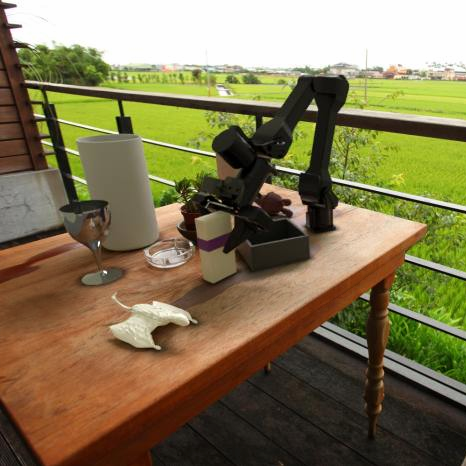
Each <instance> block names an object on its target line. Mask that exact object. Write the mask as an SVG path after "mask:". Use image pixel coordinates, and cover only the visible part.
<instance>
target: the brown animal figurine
mask: <svg viewBox="0 0 466 466" xmlns="http://www.w3.org/2000/svg"><path fill="white" fill-rule="evenodd" d="M292 202H293V201H292V200H291V199H290V198H283V197H282V196H281V195H280V194H278V193H276V192H275V191H269V192H267V193H266V194H262V197H261V199H257V198H256V199H255V201H254V204H256V206H258V207H261V208H262V209H263V210H264V211H265V212H266V213H268V214H269V215H278V214H279V213H281V214H283V215H284V216H286V217H293V215H294V212H293V211H292V210H291V209H290V208H286V207H290V206H292V204H293V203H292Z"/></svg>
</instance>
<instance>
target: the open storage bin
mask: <svg viewBox="0 0 466 466" xmlns="http://www.w3.org/2000/svg"><path fill="white" fill-rule="evenodd" d="M260 231H262V232H261V234H259V233H258V234H256V235H254V236H253V237H251V238H249V239H248V240H246V241H245V242H243V243H242V244H240V245H239V246H238V247H236V248H235V249H236V250H237V252H238V253H239V254H240V255H241V257H242V258H243V259H244V261H245V262H246V263H247V265H248V266H249V268H250V269H251V271H258V270H263V269H268V268H271V267H276V266H280V265H284V264H289V263H293V262H298V261H303V260H307V259H311V252H310V251H311V249H310V235H309V234H308V233H307V232H306V231H305V230H303V229H302V228H301V227H299V226H298V225H297V224H296V223H295V222H293V221H292V220H291V219H290V218H289V217H283V218H278V219H273V226H272V228H271V230H270V232H266V231H263V230H260Z"/></svg>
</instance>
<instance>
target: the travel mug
mask: <svg viewBox="0 0 466 466" xmlns="http://www.w3.org/2000/svg"><path fill="white" fill-rule="evenodd" d="M214 153H215V152H214ZM214 155H215V163H216V171H217V172H216V173H217V179H221V180H225V178H226V177H227V176H229V177H234V178H235V176H236V174H237V173H238V171H239V169H233V168H232V167H230V166H229V165H228V164H227V163H226V162H225V161H224V160H223V159H222V158H221V157H220V156H218V155H217V154H216V153H215V154H214ZM220 202H222V201H221V200H220ZM227 210H230V209H227Z"/></svg>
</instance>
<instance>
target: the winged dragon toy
mask: <svg viewBox="0 0 466 466" xmlns="http://www.w3.org/2000/svg"><path fill="white" fill-rule="evenodd" d="M117 293H118V291H116V292H115V293H114V294H113V295H112V294H111V295H109V296H110V299H111V300H112V301H114V303H115V304H116V306H118V307H120V308H121V310H123V311H124V312H126V313H130V312H131V315H130V316H129V317H127V318H126V320H125V321H123V322H122V321H121V322H119V323H116V324H115V323H114V324H112V325H110V326H109V330H110V332H111V333H112V335H113V336H114V337H115V338H117V339H118V340H120V341H123V342H125V343H128V344H130V345H131V346H133V347H134V348H141V349H143V348H144V349H145V348H153V349H155V350H158V351H161V350H162V347H161V346H159V345H158V344H156V345H155V342H154V340H153V335H152V334H151V333H153V331H154V330H155V329H156V328H157V327H158V326H159V327H160V326H166V325H168V324H169V323H173V324H175V325H178V326H180V327H187V326H188V325H190V322H192V323H193V324H198V321H197V320H196V319H193V317H192V316H191V314H190V313H189V312H188V311H187V310H184V309H183V308H179V307H177V306H175V305H171V304H168V303H164V302H160V301H156V300H153V301H152V304H150V303H149V304H148V303H144V302H143V303H138V304H137V303H136V304H135V305H132V306H126V305H124V304H123V303H121V302H120V301H119V300H117Z"/></svg>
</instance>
